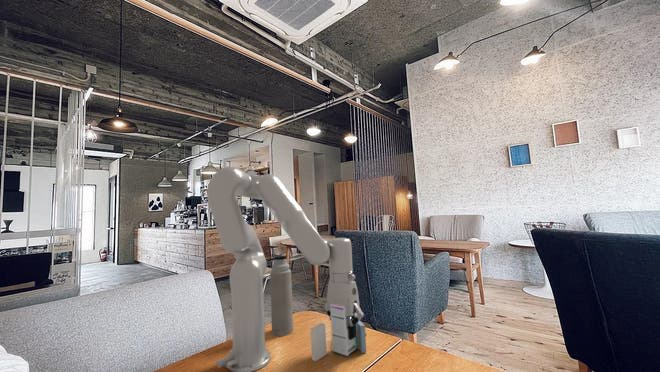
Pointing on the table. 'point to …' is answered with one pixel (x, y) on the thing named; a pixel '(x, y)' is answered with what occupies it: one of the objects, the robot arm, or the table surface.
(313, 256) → the robot arm
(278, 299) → the thermos bottle
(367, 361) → the table surface
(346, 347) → the syrup box
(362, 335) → the door
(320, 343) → the wall
